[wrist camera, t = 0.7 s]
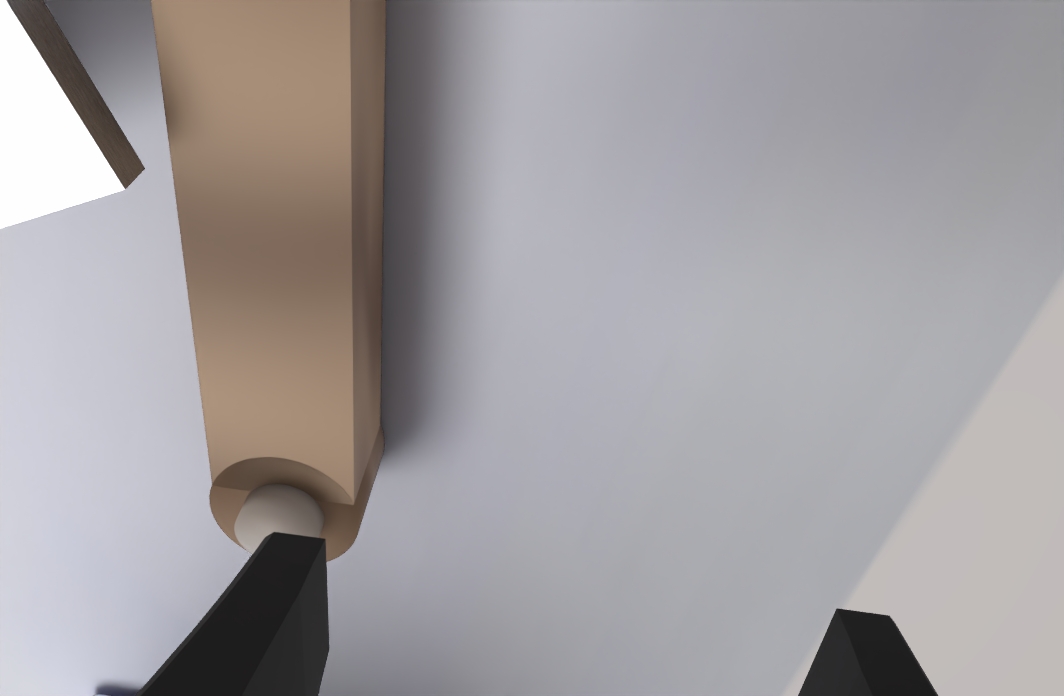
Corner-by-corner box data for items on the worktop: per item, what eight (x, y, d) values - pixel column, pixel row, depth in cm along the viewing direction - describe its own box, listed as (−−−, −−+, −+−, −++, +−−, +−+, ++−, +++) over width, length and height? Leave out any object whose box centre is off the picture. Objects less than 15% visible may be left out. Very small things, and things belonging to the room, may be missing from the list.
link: (383, 493, 22) (352, 596, 20) (253, 475, 22) (205, 576, 20) (393, -63, 15) (346, -9, 13) (202, -87, 15) (118, -39, 13)
